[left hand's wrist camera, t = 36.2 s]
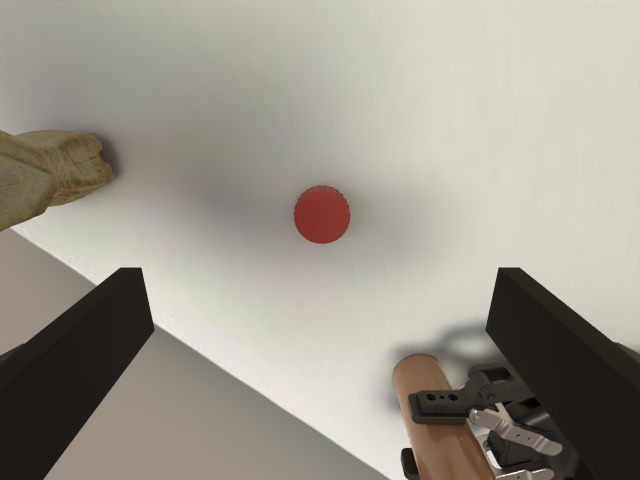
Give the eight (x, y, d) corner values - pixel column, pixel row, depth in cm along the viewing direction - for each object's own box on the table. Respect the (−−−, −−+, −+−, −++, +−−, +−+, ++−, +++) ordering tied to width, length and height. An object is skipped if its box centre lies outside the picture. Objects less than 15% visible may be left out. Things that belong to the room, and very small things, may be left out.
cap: (285, 220, 27) (283, 227, 25) (312, 174, 26) (311, 178, 24) (330, 245, 28) (331, 253, 26) (359, 202, 27) (361, 208, 25)
